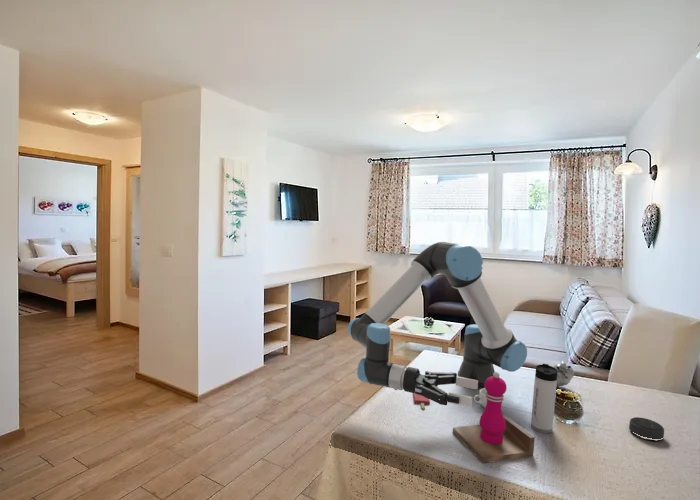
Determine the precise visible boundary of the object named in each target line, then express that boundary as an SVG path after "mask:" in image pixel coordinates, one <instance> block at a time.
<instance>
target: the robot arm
mask: <svg viewBox="0 0 700 500" xmlns="http://www.w3.org/2000/svg"><path fill="white" fill-rule="evenodd" d="M483 264H484V260H483V257H482V255H481V253H480V251H478V249H477V248H475V247H474V246H473V245H472V246H471V245H468V244H465V243H456V242H455V243H452V242H446V241H439V242H435V243H433V244H431V245H429V246H427V247H426V248H425V249H424V250H422V251H421V252H420V253H419V254H418V255H417V256H415V258H414V259H413V260H411V262H410V267H409V268H408V269H407V270H406V271H405V272H404V273H403V274H402V275H401V276H400V277H399V278H398V279H397V281H395V282H394V283H393V284H392V285H391V286H390V287H389V288H388V289H387V291H385V292H384V293H383V294H382V295H381V296H380V297H379V299H378V300H377V301H375V303H374V304H373V305H371V307H370V308H369V309H368V310H367V311H365V313H364V314H363V315H361V316H360V317H356V318H353V319H351V320H350V322H349V323H348V324H347V325H348V326H347V333H348V335H349V336H350V337H351V338H352V340H353V341H355V342H357V343H359V344H360V345H361V346H362V347H364V348H365V357H363V358H361V359H360V360H359V362H358V364H357V371H356V373H357V374H356V375H357V378H358V380H359V381H361V382H363V383H367V384H370V385H374V386H380V387H386V388H390V389H393V390H395V391H398V390H399V391H404V392H408V393H411V394H413V393H415V394H418V395H422V396H424V397H426V398H428V399H429V400H430V401H432V402H434V403H436V404H439V405H441V406H447V405H448V403H450V404H454V405H459V406H463V407H468V408H473V407H472V406H473V396H470V395H464V394H459V393H455V392H450V391H449V392H448V393H447V392H446V391H444V390H443V389H441V388H440V387H438V386H441V385H442V386H443V385H455V386H457V387H462V388H467V389H472V390H477V391H478V388H479V389H483V388H485V381H486V379H487V378H489V377H492V376H493V373H494V372H496V371H495V367H494V365H495V366H496V367H498V368H500V369H501V370H504V371H507V372H511V373H512V372H516V371H518V370H519V369H521V368H522V367H523V365H524V364H525V363H526V360H527V357H528V348H527V346H526V344H525V343H524V342H523V341H521V340H517V339H516V337H515V335H514V333H513V331H512V330H511V329H510V327H508V326H505V325H504V322H503V321H502V319H501V317H500V315H499V312H498V311H497V309H496V306H495V305H494V302H493V300H492V299H491V297H490V294H488V291H487V289H486V286H485V285H484V283H483V281H482V279H481V277H482V275H483V272H482V270H483ZM437 275H443V276H445V277H446V279H447V281H448V282H449V285H450V286H451V288H453V289H456V290H458V293H459V294H460V296H461V298H462V300H463V302H464V303H465V305H466V307H467V309H468V311H469V313H470V315H471V317H472V318H473V321H474V323H475V324H474V323H473V324H469V325H467V326H466V327H465V332H464V341H463V358H462V362H461V365H460V367H459V369H458V371H457V372H440V371H429V370H428V371H427V370H426V371H424V374H421V371H420V369H419V368H416V367H411V366H406V365H402V364H398V363H397V364H396V363H391V362H389V359H390V349H391V348H390V347H391V338H392V337H391V327H390V326H389V325H388V324H386V323H387V322H388V321H389V320H390V319H391V318H392V317H393V316H394V314H396V312H397V311H399V309H401V307H403V305H404V304H405V303H406V302H407V301H408V300H409V299H410V298H411V297H412V296H413V295H414V294H415V293H416V292H417V290H419V289H420V288H421V287H422V286H423V284H424V283H425V282H426V281H431V280H432V279H433V278H434V277H436V276H437Z"/></svg>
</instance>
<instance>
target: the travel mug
mask: <svg viewBox="0 0 700 500" xmlns="http://www.w3.org/2000/svg"><path fill="white" fill-rule="evenodd" d="M557 372H558V371H557V369H555V368H554V366H552V365H549V363H548V364H547V363H542V364H537V365H536V366H535V373H534V385H533V395H532V405H531V406H532V409H531V419H530V426H531V428H532V429H533V430H534V431H536V432H539V433H542V434H548V433H550V434H551V433H552V432H553V427H554V417H555V406H556V405H555V404H556V393H557V386H556V385H557Z"/></svg>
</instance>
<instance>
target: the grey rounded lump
mask: <svg viewBox="0 0 700 500" xmlns="http://www.w3.org/2000/svg"><path fill="white" fill-rule="evenodd" d="M553 367H554V368H555V369H557V371H558V372H557V385H556V387H564V386H567V385H569V383H571V380H572V379H573V377H574V376H575V372H574V369H573V368H572V365H567V363H566V362H565V361H560V363H557V364H554V366H553Z"/></svg>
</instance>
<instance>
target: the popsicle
mask: <svg viewBox="0 0 700 500" xmlns="http://www.w3.org/2000/svg"><path fill="white" fill-rule="evenodd" d="M412 394H413V403H414V404H418V405H420V407H421V409H422V410H425V409H426V406H427V405H429V404H430V405H431V400H430V399H428V398H426V397H424V396H422V395H418V394H415V393H412ZM425 405H426V406H425ZM430 405H429V406H430Z"/></svg>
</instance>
